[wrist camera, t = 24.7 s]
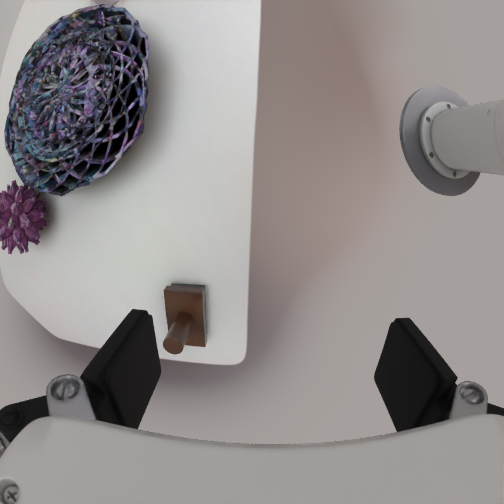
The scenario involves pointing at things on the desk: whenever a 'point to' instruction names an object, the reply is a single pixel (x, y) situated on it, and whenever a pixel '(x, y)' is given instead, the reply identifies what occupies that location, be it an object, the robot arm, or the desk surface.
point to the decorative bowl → (78, 99)
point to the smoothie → (105, 2)
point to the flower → (20, 217)
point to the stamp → (185, 317)
